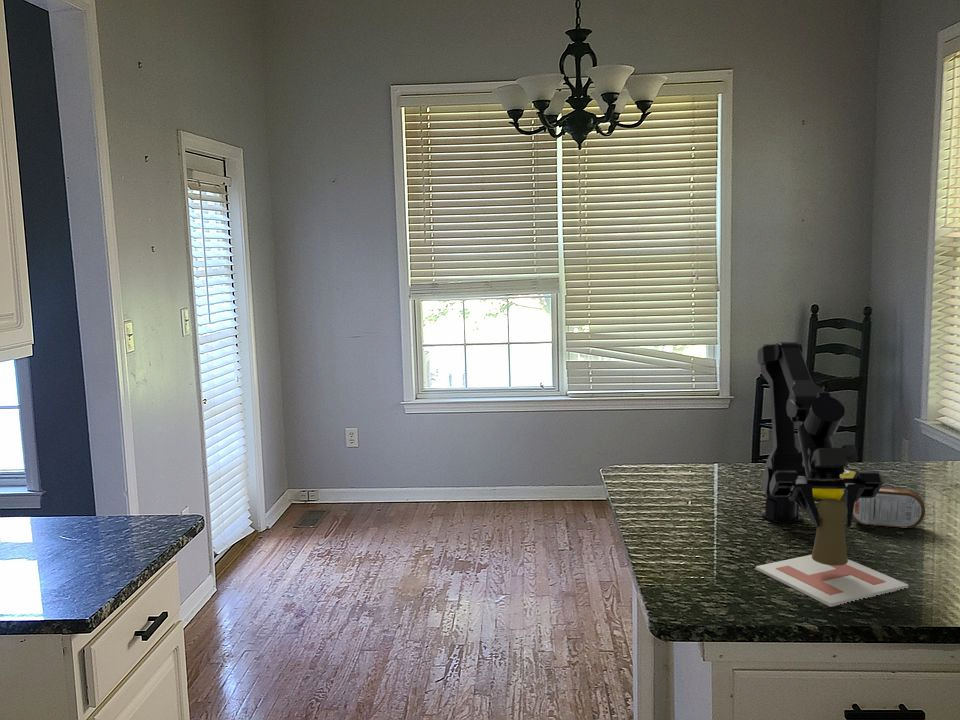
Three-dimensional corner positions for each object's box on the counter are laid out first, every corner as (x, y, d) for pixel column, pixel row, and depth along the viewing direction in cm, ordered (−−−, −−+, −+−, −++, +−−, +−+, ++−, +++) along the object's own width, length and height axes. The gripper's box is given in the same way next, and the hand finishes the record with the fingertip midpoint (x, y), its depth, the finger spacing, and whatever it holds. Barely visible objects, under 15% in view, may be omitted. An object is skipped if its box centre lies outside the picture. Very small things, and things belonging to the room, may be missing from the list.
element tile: (797, 479, 213) (797, 461, 213) (858, 488, 204) (859, 470, 203) (776, 493, 202) (777, 474, 201) (841, 504, 193) (841, 484, 192)
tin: (922, 527, 175) (924, 488, 174) (925, 532, 172) (927, 493, 171) (845, 520, 180) (847, 483, 179) (846, 525, 177) (848, 487, 176)
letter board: (828, 553, 161) (828, 550, 161) (908, 587, 144) (908, 584, 144) (755, 569, 154) (755, 565, 154) (830, 606, 137) (830, 602, 137)
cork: (855, 561, 147) (858, 502, 146) (831, 568, 145) (833, 507, 143) (828, 550, 153) (830, 493, 151) (804, 556, 150) (806, 498, 149)
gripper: (775, 427, 150) (788, 505, 141) (881, 428, 148) (903, 507, 139) (763, 458, 159) (776, 533, 150) (864, 459, 157) (883, 535, 148)
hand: (833, 526), depth 146 cm, fingers closed on cork, 5 cm apart
